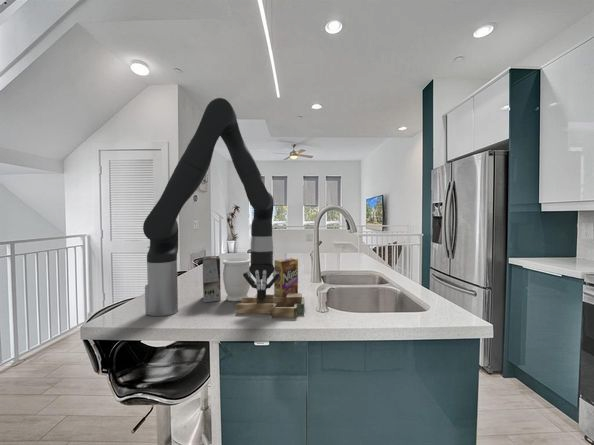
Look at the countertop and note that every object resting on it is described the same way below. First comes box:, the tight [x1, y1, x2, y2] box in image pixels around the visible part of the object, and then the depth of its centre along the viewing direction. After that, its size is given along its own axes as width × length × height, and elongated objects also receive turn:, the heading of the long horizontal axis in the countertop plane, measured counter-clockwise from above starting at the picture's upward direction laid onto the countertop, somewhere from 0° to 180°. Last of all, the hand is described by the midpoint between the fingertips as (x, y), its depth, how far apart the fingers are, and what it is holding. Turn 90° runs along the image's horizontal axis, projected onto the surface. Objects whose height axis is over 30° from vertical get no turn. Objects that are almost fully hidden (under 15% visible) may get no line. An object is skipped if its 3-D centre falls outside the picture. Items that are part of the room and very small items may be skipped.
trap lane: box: [236, 293, 305, 319], centre depth 108 cm, size 22×17×3 cm
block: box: [285, 292, 303, 307], centre depth 107 cm, size 5×5×5 cm
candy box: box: [273, 257, 299, 297], centre depth 120 cm, size 9×4×15 cm, turn 134°
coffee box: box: [202, 255, 222, 303], centre depth 122 cm, size 9×6×16 cm
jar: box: [222, 257, 251, 302], centre depth 122 cm, size 11×10×15 cm
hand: (261, 300), depth 107 cm, fingers closed
